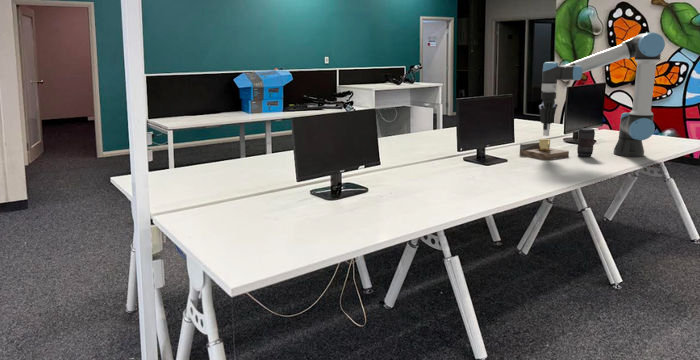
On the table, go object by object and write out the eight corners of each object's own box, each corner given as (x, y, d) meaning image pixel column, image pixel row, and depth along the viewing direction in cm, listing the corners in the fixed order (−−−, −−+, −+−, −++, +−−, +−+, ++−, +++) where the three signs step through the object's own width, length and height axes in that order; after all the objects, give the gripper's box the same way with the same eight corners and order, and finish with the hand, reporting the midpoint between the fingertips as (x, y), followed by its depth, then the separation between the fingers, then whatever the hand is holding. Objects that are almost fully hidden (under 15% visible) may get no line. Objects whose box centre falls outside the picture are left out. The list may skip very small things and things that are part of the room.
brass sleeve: (542, 154, 308) (544, 138, 306) (551, 156, 304) (552, 139, 302) (536, 155, 306) (537, 139, 303) (544, 157, 301) (545, 140, 299)
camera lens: (589, 155, 306) (592, 128, 303) (594, 158, 298) (597, 130, 295) (574, 155, 307) (576, 127, 304) (578, 157, 299) (581, 129, 296)
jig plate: (568, 156, 302) (569, 145, 300) (546, 160, 293) (547, 148, 291) (541, 151, 317) (542, 141, 315) (519, 154, 307) (520, 144, 306)
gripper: (546, 92, 290) (543, 137, 296) (562, 91, 297) (559, 135, 302) (534, 91, 297) (532, 135, 302) (551, 90, 303) (548, 133, 309)
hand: (546, 135), depth 302 cm, fingers closed
